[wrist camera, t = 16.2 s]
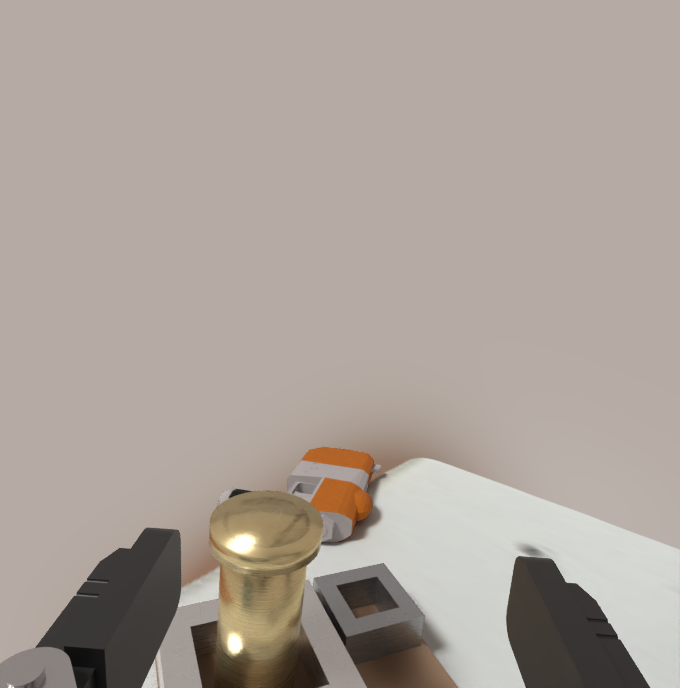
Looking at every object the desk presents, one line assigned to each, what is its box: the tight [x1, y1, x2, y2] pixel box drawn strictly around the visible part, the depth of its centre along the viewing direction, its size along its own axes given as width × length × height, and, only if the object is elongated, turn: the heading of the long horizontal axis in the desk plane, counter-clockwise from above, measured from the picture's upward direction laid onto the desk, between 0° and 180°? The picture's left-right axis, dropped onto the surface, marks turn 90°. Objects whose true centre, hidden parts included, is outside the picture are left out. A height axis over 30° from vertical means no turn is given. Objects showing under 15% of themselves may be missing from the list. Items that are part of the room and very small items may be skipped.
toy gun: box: [217, 447, 381, 542], centre depth 59 cm, size 3×19×15 cm
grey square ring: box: [313, 563, 425, 665], centre depth 38 cm, size 6×6×2 cm
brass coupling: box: [209, 491, 323, 688], centre depth 31 cm, size 6×6×12 cm
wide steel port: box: [156, 580, 367, 688], centre depth 32 cm, size 11×11×2 cm
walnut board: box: [155, 604, 458, 688], centre depth 34 cm, size 18×15×1 cm
